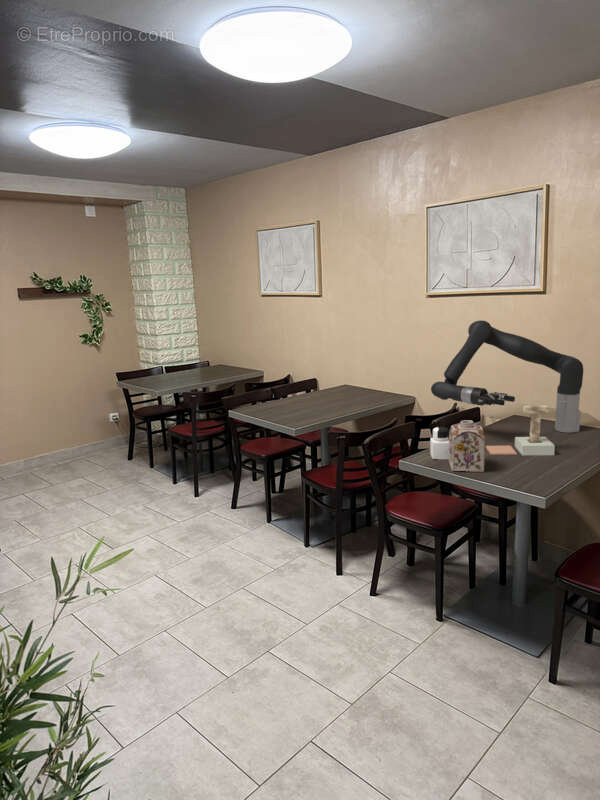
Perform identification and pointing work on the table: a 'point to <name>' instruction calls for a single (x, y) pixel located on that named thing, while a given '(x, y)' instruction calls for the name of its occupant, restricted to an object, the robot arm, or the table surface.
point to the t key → (535, 420)
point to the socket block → (534, 446)
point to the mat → (501, 450)
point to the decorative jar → (466, 447)
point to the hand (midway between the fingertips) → (509, 401)
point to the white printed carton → (439, 443)
